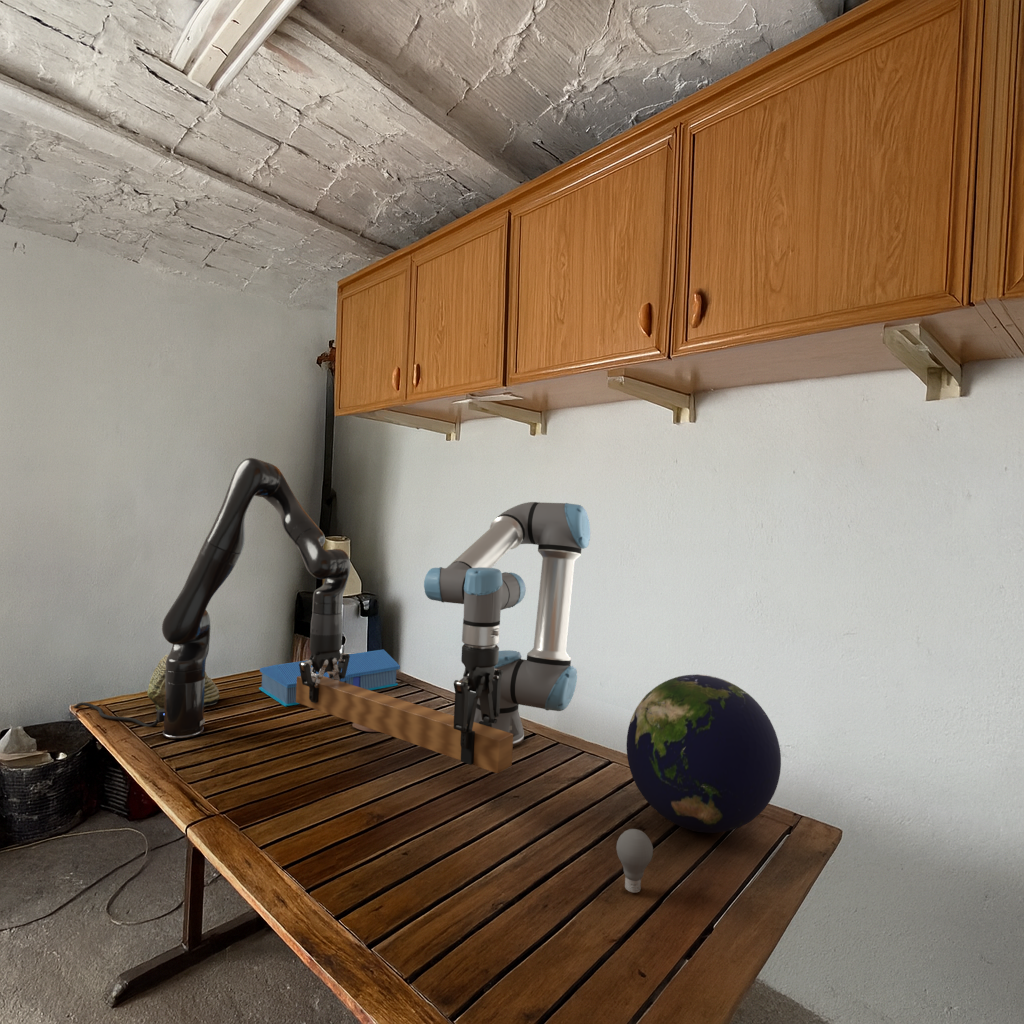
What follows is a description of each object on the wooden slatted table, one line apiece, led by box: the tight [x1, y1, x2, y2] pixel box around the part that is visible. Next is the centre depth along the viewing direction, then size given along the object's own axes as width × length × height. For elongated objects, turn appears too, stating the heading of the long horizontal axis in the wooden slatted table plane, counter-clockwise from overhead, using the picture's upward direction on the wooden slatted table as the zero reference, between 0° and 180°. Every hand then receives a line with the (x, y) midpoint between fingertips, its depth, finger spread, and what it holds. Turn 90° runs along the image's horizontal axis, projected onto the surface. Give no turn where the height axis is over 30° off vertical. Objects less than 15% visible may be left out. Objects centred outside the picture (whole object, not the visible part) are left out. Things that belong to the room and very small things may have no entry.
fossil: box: [147, 654, 221, 711], centre depth 185 cm, size 9×18×15 cm, turn 132°
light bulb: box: [615, 828, 654, 894], centre depth 106 cm, size 6×6×10 cm
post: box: [296, 676, 514, 774], centre depth 142 cm, size 62×5×6 cm, turn 56°
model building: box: [258, 649, 401, 707], centre depth 208 cm, size 39×24×10 cm, turn 132°
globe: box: [626, 673, 782, 834], centre depth 129 cm, size 30×30×30 cm
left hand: (323, 699), depth 156 cm, fingers closed on post, 5 cm apart
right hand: (475, 757), depth 129 cm, fingers closed on post, 5 cm apart
